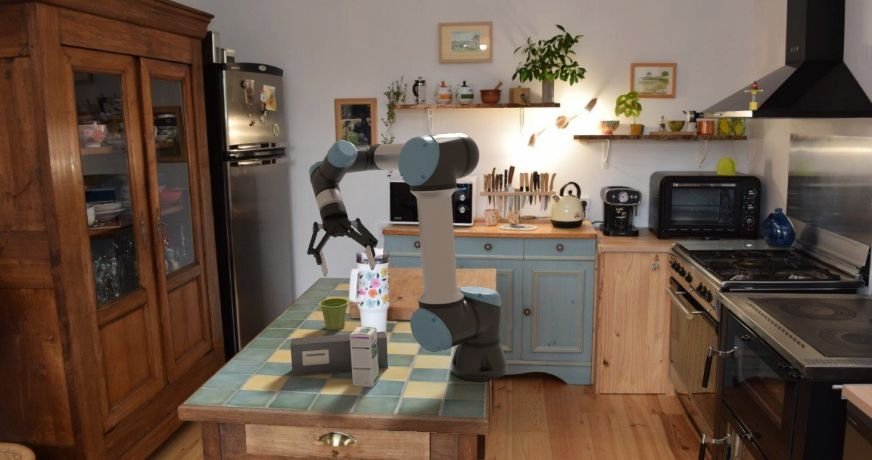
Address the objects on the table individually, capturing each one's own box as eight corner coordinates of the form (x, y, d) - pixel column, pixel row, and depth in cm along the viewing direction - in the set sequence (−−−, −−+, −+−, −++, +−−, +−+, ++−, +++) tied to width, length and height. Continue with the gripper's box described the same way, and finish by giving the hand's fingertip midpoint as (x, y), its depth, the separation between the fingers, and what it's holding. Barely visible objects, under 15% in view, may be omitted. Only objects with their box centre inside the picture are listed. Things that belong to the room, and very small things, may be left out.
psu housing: (386, 361, 194) (385, 331, 192) (388, 369, 188) (387, 338, 187) (293, 369, 190) (291, 338, 188) (292, 377, 184) (290, 345, 183)
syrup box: (373, 387, 177) (371, 334, 174) (351, 386, 178) (349, 333, 175) (379, 378, 182) (377, 327, 179) (358, 377, 183) (356, 326, 181)
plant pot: (335, 334, 216) (333, 308, 215) (314, 328, 222) (313, 303, 220) (355, 326, 224) (354, 301, 222) (335, 321, 229) (333, 296, 227)
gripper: (370, 212, 205) (389, 272, 195) (287, 220, 195) (303, 283, 185) (375, 197, 200) (395, 258, 189) (290, 204, 189) (307, 269, 179)
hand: (350, 270), depth 187 cm, fingers open, 13 cm apart
